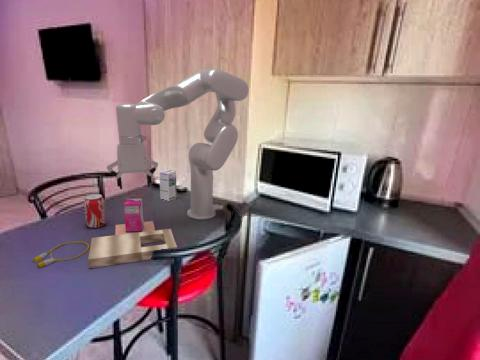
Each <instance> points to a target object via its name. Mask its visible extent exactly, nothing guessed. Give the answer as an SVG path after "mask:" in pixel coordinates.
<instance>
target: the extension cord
mask: <svg viewBox="0 0 480 360" xmlns="http://www.w3.org/2000/svg"><path fill="white" fill-rule="evenodd" d="M76 244H78V245H79V244H82V245H86V246H87V248H86V249H85V251H83V252H82V253H80V254H78V255H77V256H74V257H71V258H53V256H52V253H53V252H54V251H55V250H56V249H57V248H59V247H62V246H66V245H76ZM89 250H90V244H89V243H87V242H85V241H79V240H78V241H68V242H64V243H61V244H59V245H57V246H55V247H54V248H52V249H50V250H49V251H47V252H43V253H41V254H39V255H37V256H35V257H33V258H32V261H33V263H37V264H36V265H37V267H38V268H39V269H41V268H44V267H47V266H49V265H51V264H53V263H54V262H62V261H70V260H74V259H75V260H76V259H77V258H79V257H81V256H83V255H84V254H86V253H87V252H88V251H89ZM48 254H50V258H47V259H45V258H46V257H47V256H48ZM44 259H45V260H44Z"/></svg>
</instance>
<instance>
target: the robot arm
mask: <svg viewBox="0 0 480 360" xmlns="http://www.w3.org/2000/svg"><path fill="white" fill-rule="evenodd" d="M249 90H250V89H249V85H248V83H247V82H246V81H245V80H244V79H243V78H241V77H239V76H237V75H233V74H232V73H229V72H227V71H224V70H221V69H219V68H204V69H203V68H202V69H200V70H198V71H196V72H195V73H192V74H191V75H189V76H188V77H185V78H184V79H182V80H180V81H178V82H176V83H175V84H172V85H170V86H168V87H166V88H164V89H162V90H159V91H157V92H154V93H152V94H150V95H148V96H147V97H145V98H143V99H141V100H140V101H138V102H137V103H136V104H135V103H119V104H117V105H116V106H115V114H116V123H117V134H118V141H119V143H117V146H116V160H115V161H114V162H112V163H110V164H109V165H107V166H106V170H107V171H108V173H110V174H111V176H113V177H114V178H115V179H116V184H117V185H116V186H117V187H118V188H119V190H122V189H123V181H122V175H123V174H132V173H142V172H145V173H146V182H147V187H151V184H152V183H153V180H152V176H153V174H155V172H156V170H157V169H158V166H159V162H157V161H155V160H152V159H150V158H148V153H147V149H146V144H145V143H144V141H147V136H145V135H143V133H142V125H146V126H157V125H159V124H161V123H162V122H164V120H165V117H166V115H165V114H166V113H165V111H168V110H171V109H175V108H176V109H177V108H182V107H186V106H188V105H190V104H191V103H193V102H194V101H196V100H197V99H199V98H201V97H203V96H204V95H206V94H207V93H215V97H216V102H217V103H216V104H217V106H216V109H215V111H214V113H213V115H212V117H211V118H210V120H209V121H208V124H207V125H206V127H205V128H204V132H203V138H204V139H205V140H206V141H207V142H208V143H210V144H208V143H204V142H195V143H194V144H193V145H192V146H191V147H190V148H189V149H188V161H189V168H190V169H189V170H190V208H189V209H187V211H186V212H187V213H186V215H187V217H188V218H190V219H193V220H196V221H197V220H200V221H201V220H204V221H205V220H210V219H214V218H215V216H216V215H217V212H216V211H219V210H221V211H222V210H224V205H222V204H221V205H219V204H218V203H216V204H214V201H213V199H214V197H213V196H214V195H213V194H214V172H213V171H218V170H220V169H221V168H222V167H224V165H225V163H226V162H227V161H228V159H229V157H230V155H231V153H232V152H233V150H234V148H235V146H236V144H237V142H238V138H239V137H238V136H239V133H238V128H237V127H236V126H235V125H234V124H233V122H234V120H235V117H236V113H237V111H236V103H235V102H241V101H243V100H245V99H246V98H247V97H248V96H249ZM149 164H150V165H152V168H151V169H149ZM115 167H117V169H118V171H115V170H114V168H115Z"/></svg>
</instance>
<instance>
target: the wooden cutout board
mask: <svg viewBox="0 0 480 360" xmlns="http://www.w3.org/2000/svg"><path fill="white" fill-rule="evenodd" d="M157 242H158V243H159V242H163V244H158V245H150V246H142V245H143V244H144V245H145V244H149V243H157ZM175 248H177V249H178V245H177V243H176V240H175V238H174V235H173V232H172V229H171V228H165V229H158V230H156V229H155V231H147V232H139V233H130V234H122V235H115V234H114V235H108V236H107V235H105V236H97V237H91V242H90V246H89V253H88V259H87V261H88V269H94V268H101V267H107V266H113V265H120V264H127V263H134V262H140V261H147V260H152V259H151V257H152V252H153V251H155V250H161V249H175Z"/></svg>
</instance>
